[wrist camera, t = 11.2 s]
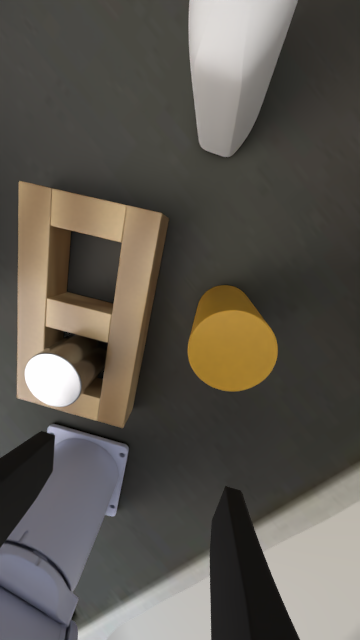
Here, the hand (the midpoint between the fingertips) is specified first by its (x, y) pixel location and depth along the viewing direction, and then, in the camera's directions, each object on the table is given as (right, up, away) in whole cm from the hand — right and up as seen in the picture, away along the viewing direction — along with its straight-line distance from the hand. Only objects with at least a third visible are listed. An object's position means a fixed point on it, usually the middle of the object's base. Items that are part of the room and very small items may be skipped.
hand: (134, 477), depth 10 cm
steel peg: (-6, +4, +11) cm, 13 cm away
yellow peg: (+5, +7, +8) cm, 12 cm away
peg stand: (-5, +7, +9) cm, 13 cm away
